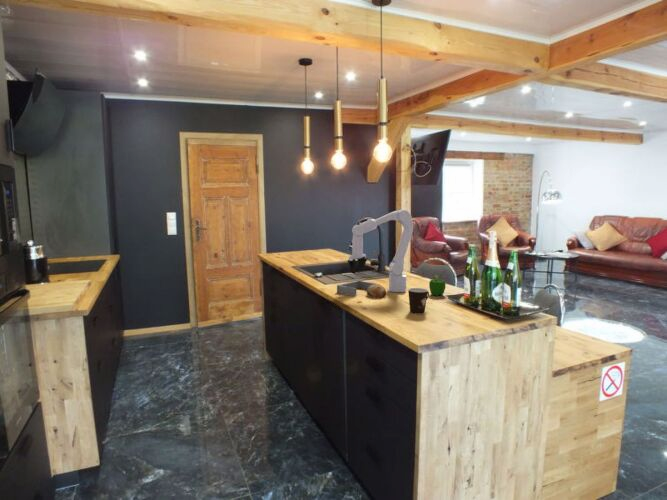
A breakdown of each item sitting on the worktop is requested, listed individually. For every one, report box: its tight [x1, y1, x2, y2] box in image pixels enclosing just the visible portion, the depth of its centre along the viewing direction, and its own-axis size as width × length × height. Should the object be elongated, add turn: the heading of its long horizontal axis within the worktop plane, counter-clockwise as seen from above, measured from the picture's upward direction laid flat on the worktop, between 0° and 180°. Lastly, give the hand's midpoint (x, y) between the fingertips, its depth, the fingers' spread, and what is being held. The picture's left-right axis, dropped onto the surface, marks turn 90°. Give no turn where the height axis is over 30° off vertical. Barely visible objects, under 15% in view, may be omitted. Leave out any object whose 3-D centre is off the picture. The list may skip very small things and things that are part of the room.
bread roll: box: [366, 283, 387, 299], centre depth 220 cm, size 10×10×8 cm
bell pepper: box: [428, 275, 446, 297], centre depth 223 cm, size 8×8×10 cm
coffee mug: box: [407, 287, 430, 314], centre depth 191 cm, size 12×9×10 cm
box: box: [336, 280, 377, 297], centre depth 229 cm, size 12×18×4 cm, turn 138°
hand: (357, 272), depth 232 cm, fingers open, 7 cm apart
